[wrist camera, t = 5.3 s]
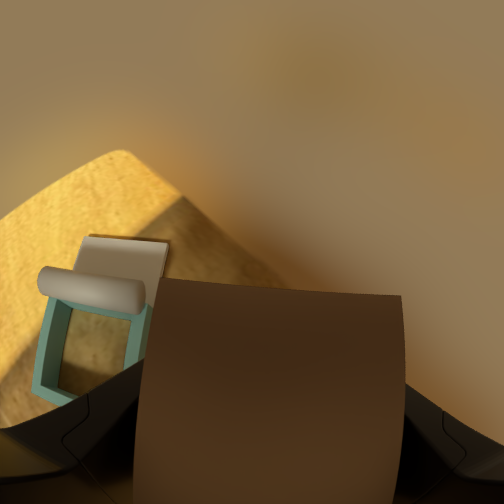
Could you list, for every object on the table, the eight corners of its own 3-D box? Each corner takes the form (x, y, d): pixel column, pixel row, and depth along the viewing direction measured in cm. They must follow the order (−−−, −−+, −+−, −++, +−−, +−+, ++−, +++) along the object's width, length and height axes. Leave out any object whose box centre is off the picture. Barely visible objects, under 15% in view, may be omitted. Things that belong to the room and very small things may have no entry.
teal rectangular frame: (141, 428, 17) (114, 436, 12) (48, 394, 17) (12, 389, 12) (171, 246, 24) (157, 214, 19) (84, 239, 24) (61, 210, 20)
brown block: (300, 444, 12) (388, 517, 3) (203, 438, 12) (132, 511, 3) (306, 354, 14) (400, 290, 5) (213, 347, 14) (160, 272, 5)
